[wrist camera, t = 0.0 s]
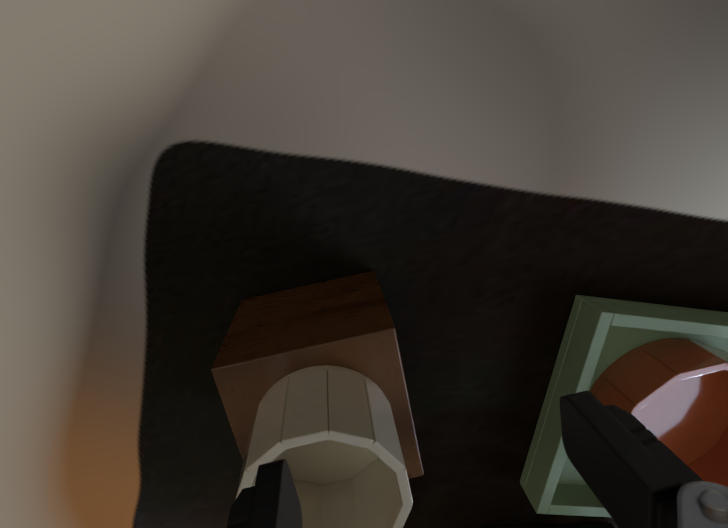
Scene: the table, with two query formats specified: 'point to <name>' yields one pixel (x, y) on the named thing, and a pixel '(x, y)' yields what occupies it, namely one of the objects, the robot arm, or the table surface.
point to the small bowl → (333, 448)
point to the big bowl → (676, 399)
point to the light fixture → (560, 526)
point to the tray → (580, 371)
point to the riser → (314, 350)
